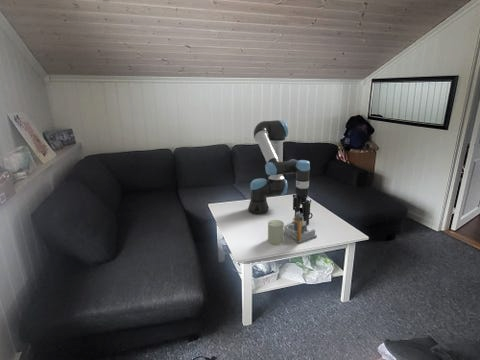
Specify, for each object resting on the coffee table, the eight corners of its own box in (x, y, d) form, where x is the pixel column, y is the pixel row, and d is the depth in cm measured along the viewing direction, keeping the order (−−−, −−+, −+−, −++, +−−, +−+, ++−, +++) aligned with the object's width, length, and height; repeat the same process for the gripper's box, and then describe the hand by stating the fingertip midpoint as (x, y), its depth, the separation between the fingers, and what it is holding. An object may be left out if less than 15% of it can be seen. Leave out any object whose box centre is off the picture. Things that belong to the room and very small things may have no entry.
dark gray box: (293, 230, 180) (294, 215, 177) (301, 228, 183) (301, 213, 180) (299, 233, 176) (299, 217, 173) (306, 231, 179) (307, 215, 176)
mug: (314, 225, 192) (315, 212, 190) (296, 226, 191) (297, 213, 188) (309, 219, 201) (310, 206, 199) (292, 220, 200) (293, 208, 197)
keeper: (281, 232, 183) (282, 212, 179) (298, 227, 190) (299, 207, 186) (299, 243, 170) (299, 222, 166) (316, 237, 177) (318, 216, 173)
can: (266, 237, 178) (266, 219, 174) (281, 236, 178) (281, 218, 175) (269, 245, 169) (269, 226, 165) (284, 244, 170) (285, 225, 166)
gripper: (287, 184, 177) (286, 219, 184) (308, 192, 162) (306, 230, 169) (296, 182, 181) (295, 217, 187) (318, 189, 166) (315, 227, 173)
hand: (300, 223), depth 178 cm, fingers closed on dark gray box, 5 cm apart
